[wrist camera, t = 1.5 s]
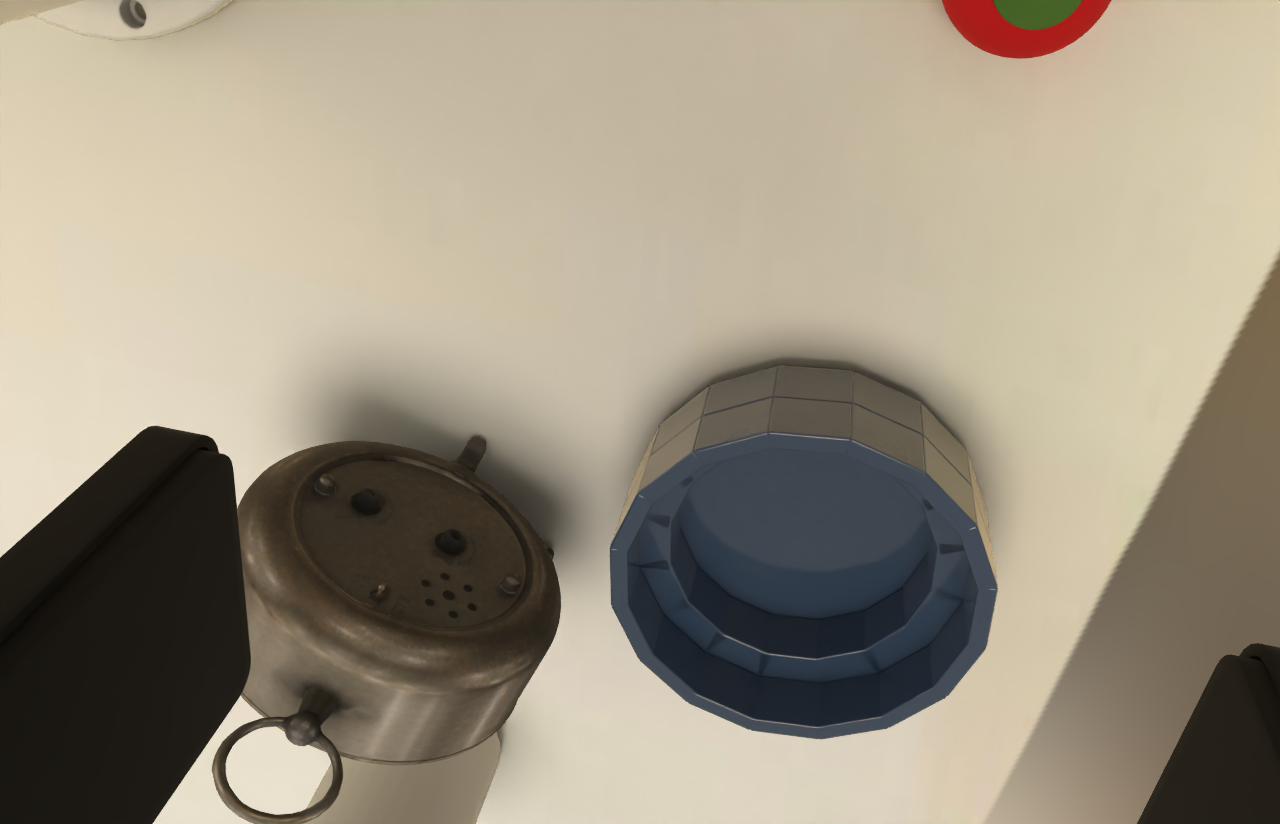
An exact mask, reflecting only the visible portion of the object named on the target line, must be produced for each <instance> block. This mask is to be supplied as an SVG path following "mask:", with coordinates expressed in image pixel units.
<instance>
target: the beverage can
mask: <svg viewBox="0 0 1280 824" xmlns="http://www.w3.org/2000/svg"><path fill="white" fill-rule="evenodd" d="M340 757H341V756H340ZM499 759H500V741H499V737H498V734H497V732H495V733H494V734H493V735H492V736H491V737H489V738H488V739H487V740H486V741H484V742H482V743H481V744H480V745H478V746H476V747H475V748H473V749H471V750H469V751H467V752H464V753H462V754H460V755H457V756H455V757H452V758H449V759H445V760H441V761H436V762H431V763H424V764H417V765H383V764H373V763H367V762H362V761H356V760H352V759H348V758H344V757H341V761H342V766H343V780H342V785H341V788H340V791H339V795H338V797H337V799H336V800H335V802H334V803H333V804H332V805H331V807H330V808H329V809H328V810H326V811H325V812H323V813H322V814H321V815H320V816H319V817H317V818H315V819H312V820H310V821H308V822H306V823H303V824H476V821H477V818H478V816H479V813H480V811H481V808H482V805H483V803H484V800H485V797H486V795H487V792H488V790H489V787H490V784H491V782H492V779H493V776H494V774H495V771H496V768H497V766H498V763H499ZM332 779H333V769H332V763H331V765H330V766H329V768H328V770H327V772H326V774H325V776H324V777H323V779H322V781H321V783H320V785H319V787H318V788H317V790H316V792H315V794H314V796H313V798H312V799H311V801H310V803H309V805H308V807H307V808H306V809H308V808H310V807H312V806H313V805H315V804H316V803H318V802H319V801H320V800H322V799H323V798H324V796H325V795H326V793H327V792H328V790H329V788H330V786H331V784H332Z"/></svg>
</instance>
